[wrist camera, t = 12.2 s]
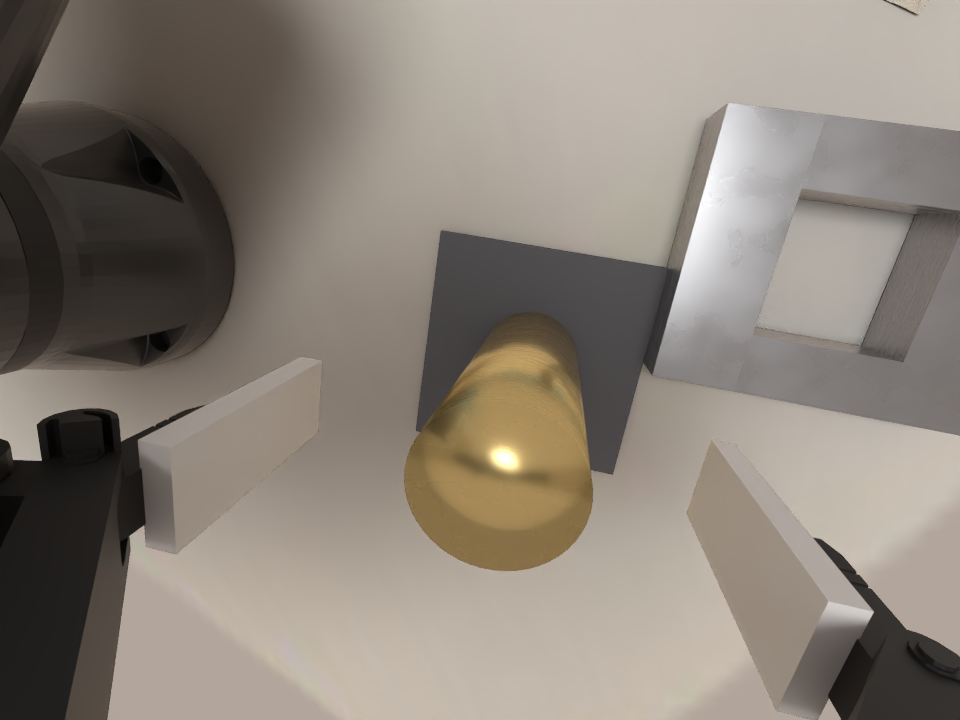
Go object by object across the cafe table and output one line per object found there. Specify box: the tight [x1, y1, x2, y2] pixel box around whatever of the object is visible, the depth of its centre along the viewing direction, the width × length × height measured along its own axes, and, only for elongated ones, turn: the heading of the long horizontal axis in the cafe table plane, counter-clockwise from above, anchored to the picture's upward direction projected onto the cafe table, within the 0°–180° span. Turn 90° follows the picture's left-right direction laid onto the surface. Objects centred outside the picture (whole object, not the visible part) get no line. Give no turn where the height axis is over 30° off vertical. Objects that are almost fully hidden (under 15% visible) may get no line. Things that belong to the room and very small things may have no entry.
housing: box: [643, 103, 960, 435], centre depth 21 cm, size 14×12×3 cm
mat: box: [416, 231, 668, 475], centre depth 26 cm, size 12×12×1 cm
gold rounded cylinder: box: [404, 312, 593, 571], centre depth 19 cm, size 5×5×14 cm
